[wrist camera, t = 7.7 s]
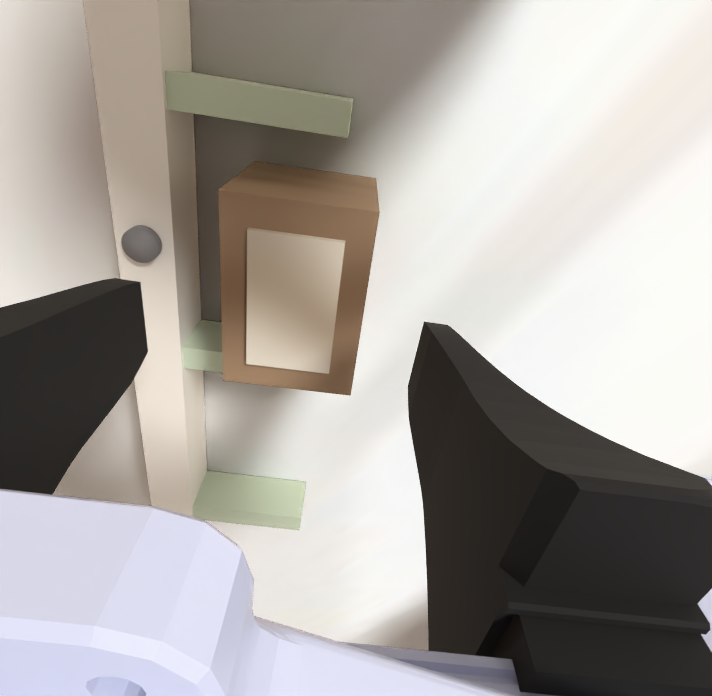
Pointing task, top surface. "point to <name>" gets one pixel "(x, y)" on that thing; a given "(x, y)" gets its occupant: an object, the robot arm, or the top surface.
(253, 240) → the cardboard box
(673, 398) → the top surface
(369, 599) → the top surface
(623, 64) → the top surface
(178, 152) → the rack
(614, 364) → the top surface
